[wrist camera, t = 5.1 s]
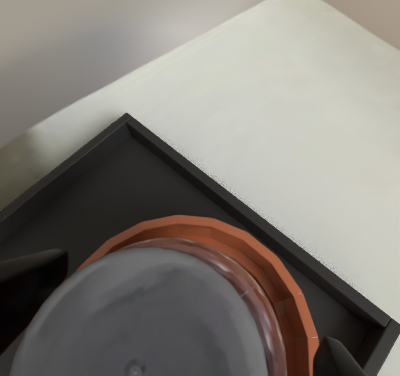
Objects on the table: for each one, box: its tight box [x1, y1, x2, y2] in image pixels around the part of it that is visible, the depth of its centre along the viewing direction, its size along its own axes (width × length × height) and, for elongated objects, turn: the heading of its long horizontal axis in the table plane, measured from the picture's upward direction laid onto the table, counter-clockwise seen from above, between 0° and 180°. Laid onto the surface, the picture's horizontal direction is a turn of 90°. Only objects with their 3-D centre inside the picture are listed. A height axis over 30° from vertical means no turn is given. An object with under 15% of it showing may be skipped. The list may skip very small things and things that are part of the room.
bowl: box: [77, 215, 319, 376], centre depth 13 cm, size 11×11×4 cm
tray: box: [0, 113, 400, 376], centre depth 14 cm, size 19×19×2 cm
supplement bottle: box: [9, 237, 287, 376], centre depth 9 cm, size 6×6×11 cm
